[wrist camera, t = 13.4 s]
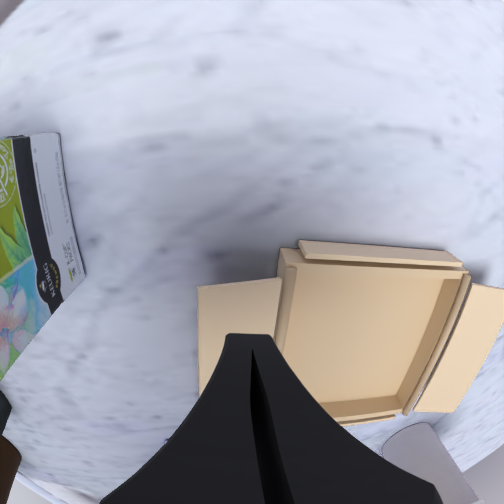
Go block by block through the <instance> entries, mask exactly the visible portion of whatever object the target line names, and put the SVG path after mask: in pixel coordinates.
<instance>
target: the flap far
mask: <svg viewBox="0 0 504 504" xmlns="http://www.w3.org/2000/svg"><path fill="white" fill-rule="evenodd" d="M503 323H504V289H503V288H498V287H493V286H487V285H482V284H476V283H471V285H470V288H469V291H468V294H467V296H466V299H465V302H464V304H463V307H462V310H461V312H460V315H459V317H458V319H457V322H456V324H455V327H454V329H453V331H452V334H451V336H450V338H449V340H448V343H447V345H446V347H445V349H444V351H443V353H442V355H441V357H440V359H439V362H438V364H437V366H436V368H435V370H434V371H433V373H432V375H431V377H430V379H429V381H428V383H427V385H426V387H425V388H424V390H423V392H422V394H421V396H420V397H419V399H418V401H417V403H416V404H415V406H414V408H413V411H418V412H445V413H453V412H454V411H455V409H456V408H457V406H458V405H459V403H460V402H461V400H462V399H463V397H464V395H465V394H466V392H467V391H468V389H469V387H470V386H471V384H472V382H473V381H474V379H475V377H476V376H477V374H478V372H479V370H480V368H481V367H482V365H483V363H484V361H485V359H486V357H487V356H488V354H489V352H490V350H491V348H492V346H493V344H494V342H495V340H496V338H497V336H498V333H499V331H500V329H501V327H502V325H503Z"/></svg>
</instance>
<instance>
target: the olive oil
mask: <svg viewBox="0 0 504 504" xmlns="http://www.w3.org/2000/svg"><path fill="white" fill-rule="evenodd" d="M20 462H21V455H20V453H19V452H18V451H17V449H16V448H15V447H14V446H13V445H12V444H11V443H10V442H9V441H8V440H6V439H5V438H4V437H3V436H2V435H1V437H0V504H6V503H7V500H8V497H9V493H10V490H11V487H12V484H13V481H14V478H15V475H16V473H17V470H18V467H19V465H20Z"/></svg>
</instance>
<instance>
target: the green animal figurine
mask: <svg viewBox="0 0 504 504" xmlns="http://www.w3.org/2000/svg"><path fill="white" fill-rule="evenodd" d="M11 409H12V407H11V405H10V403H9V402H8V400H7V398H6V397H5V396H4V394H3V393H2V392H1V391H0V437H1V435H2V433H3V431H4V428H5V426H6V423H7V420H8V417H9V415H10V412H11Z"/></svg>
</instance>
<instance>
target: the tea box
mask: <svg viewBox="0 0 504 504" xmlns="http://www.w3.org/2000/svg"><path fill="white" fill-rule="evenodd" d="M84 278H85V274H84V270H83V266H82V261H81V258H80V254H79V251H78V247H77V242H76V237H75V232H74V228H73V223H72V218H71V212H70V207H69V201H68V196H67V190H66V183H65V178H64V170H63V162H62V155H61V146H60V136H59V134H57V133H55V132H50V133H36V134H28V135H20V136H10V137H1V138H0V381H1V379H2V378H3V377H4V375H5V374H6V372H7V371H8V370H9V368H10V367H11V366H12V364H13V363H14V362H15V360H16V359H17V358H18V357H19V355H20V354H21V353H22V352H23V350H24V349H25V348H26V346H27V345H28V344H29V343H30V342H31V340H32V339H33V338H34V337H35V335H36V334H37V333H38V332H39V330H40V329H41V328H42V327H43V325H44V324H45V323H46V322H47V321H48V319H49V318H50V317H51V316H52V314H53V313H54V312H55V311H56V309H57V308H58V307H59V306H60V304H61V303H63V302H64V301H65V300H66V299H67V297H68V296H69V295H70V294H71V293H72V292H73V291H74V290H75V288H76V287H77V286H78V285H79V284H80V283H81V282H82V281H83V279H84Z"/></svg>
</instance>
